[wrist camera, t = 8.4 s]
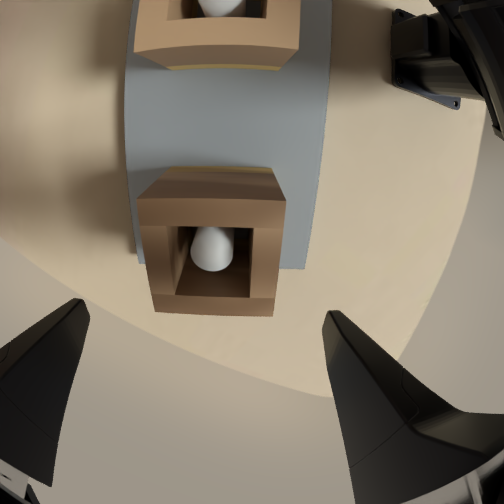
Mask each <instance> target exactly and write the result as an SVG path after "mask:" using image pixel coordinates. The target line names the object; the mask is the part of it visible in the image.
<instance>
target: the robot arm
mask: <svg viewBox="0 0 504 504" xmlns="http://www.w3.org/2000/svg"><path fill="white" fill-rule="evenodd" d="M429 1H430V3H431V4H432V5H433V7H436V9H437V10H438V11H439V12H437V13H434V14H431V15H426V14H422V15H419V16H415V15H413V14H410V13H408V12H406V11H404V10H401V9H396V10H394V11H393V12H392V20H393V26H391V56H392V83H393V85H394V86H396V87H398V88H401V89H404V90H407V91H409V92H412V93H415V94H418V95H420V96H423V97H425V98H428V99H430V100H433V101H435V102H438V103H440V104H442V105H444V106H447V107H449V108H451V109H454V110H458V109H459V108H460V101H461V98H468V99H475V100H482V101H485V102H486V105H487V107H488V110H489V113H490V116H491V119H492V122H493V125H492V126H493V130H494V133H495V134H496V135H497V136H498V137H499V138H501V139H502V140H503V141H504V0H429ZM398 13H399V14H400V15H401V17H400V16H399V15H398ZM398 78H399V79H400V81H401V82H400V84H399V83H398V80H397V79H398ZM454 102H455V105H454ZM89 322H90V315H89V312H88V310H87V307H86V304H85V302H84V300H83V299H78V298H73V299H72V300H70V301H68V302H67V303H65V304H64V305H62V306H61V307H59V308H58V309H56V310H55V311H53V312H52V313H50V314H49V315H47V316H46V317H44V318H43V319H41V320H40V321H39V322H37V323H36V324H34V325H33V326H31V327H30V328H28V329H27V330H25V331H24V332H23V333H21V334H20V335H18V336H17V337H16V338H14V339H13V340H11V342H9V343H7V344H6V345H4V346H3V347H2V348H0V504H40V503H39V501H38V499H37V497H36V495H35V493H34V491H33V489H32V487H31V485H30V484H28V478H29V476H30V477H31V478H33V479H35V480H37V481H39V482H41V483H43V484H45V485H47V486H49V487H52V481H53V473H54V466H55V459H56V453H57V447H58V441H59V436H60V431H61V426H62V421H63V417H64V413H65V409H66V405H67V401H68V397H69V393H70V390H71V387H72V383H73V380H74V376H75V373H76V370H77V367H78V364H79V360H80V357H81V354H82V350H83V346H84V342H85V338H86V333H87V330H88V326H89ZM322 335H323V342H324V350H325V357H326V365H327V371H328V375H329V379H330V383H331V388H332V392H333V396H334V400H335V404H336V409H337V413H338V417H339V422H340V426H341V431H342V436H343V440H344V445H345V450H346V455H347V460H348V465H349V468H350V469H349V471H350V476H351V481H352V486H353V492H354V498H355V504H504V414H486V413H469V412H463V411H461V410H459V409H457V408H455V407H453V406H452V405H451V404H449V403H448V402H446V401H445V400H444V399H442V398H441V397H440V396H438V395H437V394H436V393H434V392H433V391H431V390H430V389H429V388H427V387H426V386H425V385H424V384H422V383H421V382H420V381H419V380H418V379H416V378H415V377H414V376H413V375H412V374H411V373H410V372H408V371H407V370H406V369H405V368H403V366H402V365H401V364H399V363H398V362H397V361H396V360H395V359H394V358H393V357H392V356H390V355H389V354H388V353H387V352H386V351H385V350H384V349H383V348H381V347H380V346H379V345H378V344H377V343H376V342H375V341H374V340H372V339H371V338H370V337H369V336H368V335H367V334H366V333H365V332H363V331H362V330H361V329H360V328H359V327H358V326H357V325H355V324H354V323H353V322H352V321H351V320H350V319H349V318H348V317H346V316H345V315H344V314H343V313H342V312H341V311H339V310H329V311H328V312H327V314H326V317H325V321H324V324H323V327H322Z"/></svg>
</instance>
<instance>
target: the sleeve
mask: <svg viewBox="0 0 504 504" xmlns="http://www.w3.org/2000/svg"><path fill="white" fill-rule="evenodd" d="M136 202H137V210H138V219H139V226H140V233H141V240H142V247H143V253H144V259H145V264H146V270H147V275H148V281H149V286H150V290H151V295H152V300H153V305H154V309H155V312H165V313H179V314H197V315H220V316H273V311H274V303H275V296H276V288H277V280H278V272H279V264H280V256H281V247H282V238H283V229H284V220H285V211H286V199H285V197H284V194H283V192H282V190H281V188H280V185H279V183H278V181H277V179H276V177H275V174H274V172H273V170H272V168H261V167H235V166H171V167H170V168H169V169H168V170H167V171H166V172H165V173H163V174H162V175H161V176H160V177H159V178H158V179H157V180H156V181H155V182H154V183H152V184H151V185H150V186H149V187H148V188H147V189H146V190H145V191H144V192H143V193H142V194H141V195H140V196H139V197H138V198H137V199H136ZM193 226H200V227H241V228H248V239H234V247H233V258H232V261H231V262H230V264H229V265H228V266H227V267H226V268H224V269H222V270H219V271H207V270H204V269H202V268H200V267H198V266H197V265H196V264H195V263H194V261H193V260H192V257H191V246H192V243H193V240H194V238H193Z"/></svg>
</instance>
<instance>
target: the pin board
mask: <svg viewBox="0 0 504 504" xmlns="http://www.w3.org/2000/svg"><path fill="white" fill-rule="evenodd" d="M331 32H332V0H133V5H132V11H131V18H130V25H129V33H128V43H127V54H126V69H125V95H124V124H125V152H126V168H127V180H128V191H129V200H130V209H131V217H132V224H133V231H134V238H135V244H136V250H137V256H138V261H139V264H145V259H144V253H143V247H142V240H141V233H140V226H139V219H138V210H137V202H136V199H137V198H138V197H139V196H140V195H141V194H142V193H143V192H144V191H145V190H146V189H147V188H148V187H149V186H150V185H151V184H152V183H154V182H155V181H156V180H157V179H158V178H159V177H160V176H161V175H162V174H163V173H165V172H166V171H167V170H168V169H169V168H170V167H171V166H235V167H261V168H272V170H273V172H274V174H275V177H276V179H277V181H278V183H279V185H280V188H281V190H282V192H283V194H284V197H285V199H286V211H285V220H284V229H283V238H282V247H281V256H280V264H279V269H305V263H306V258H307V252H308V246H309V241H310V235H311V229H312V222H313V216H314V209H315V203H316V196H317V189H318V182H319V174H320V166H321V158H322V150H323V141H324V132H325V122H326V111H327V100H328V87H329V73H330V56H331ZM193 238H194V240H193V243H192V246H191V257H192V260H193V261H194V263H195V264H196V265H197V266H198V267H200V268H202V269H204V270H207V271H219V270H222V269H224V268H226V267H227V266H228V265H229V264H230V262H231V261H232V258H233V247H234V239H248V228H241V227H200V226H193Z"/></svg>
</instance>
